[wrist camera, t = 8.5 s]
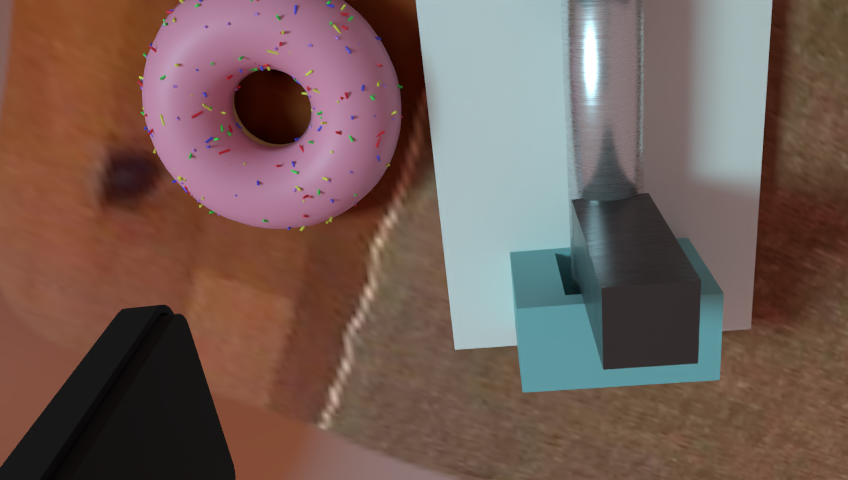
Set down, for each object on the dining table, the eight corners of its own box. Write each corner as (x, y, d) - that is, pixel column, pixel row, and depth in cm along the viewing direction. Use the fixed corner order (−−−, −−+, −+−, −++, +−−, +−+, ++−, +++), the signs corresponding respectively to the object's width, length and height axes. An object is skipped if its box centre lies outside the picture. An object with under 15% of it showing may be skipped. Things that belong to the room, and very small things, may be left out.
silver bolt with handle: (549, -164, 28) (590, -189, 19) (635, -175, 28) (718, -206, 19) (569, 301, 36) (604, 444, 26) (636, 297, 35) (695, 439, 26)
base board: (372, -406, 27) (369, -419, 26) (789, -472, 26) (804, -488, 25) (455, 336, 39) (454, 349, 38) (742, 316, 38) (750, 328, 37)
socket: (509, 252, 36) (516, 308, 31) (688, 237, 35) (723, 293, 30) (515, 327, 37) (522, 392, 33) (686, 315, 37) (719, 379, 32)
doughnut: (385, 228, 37) (376, 267, 33) (155, 187, 37) (120, 222, 33) (424, -7, 33) (419, 7, 29) (164, -56, 32) (124, -49, 29)
